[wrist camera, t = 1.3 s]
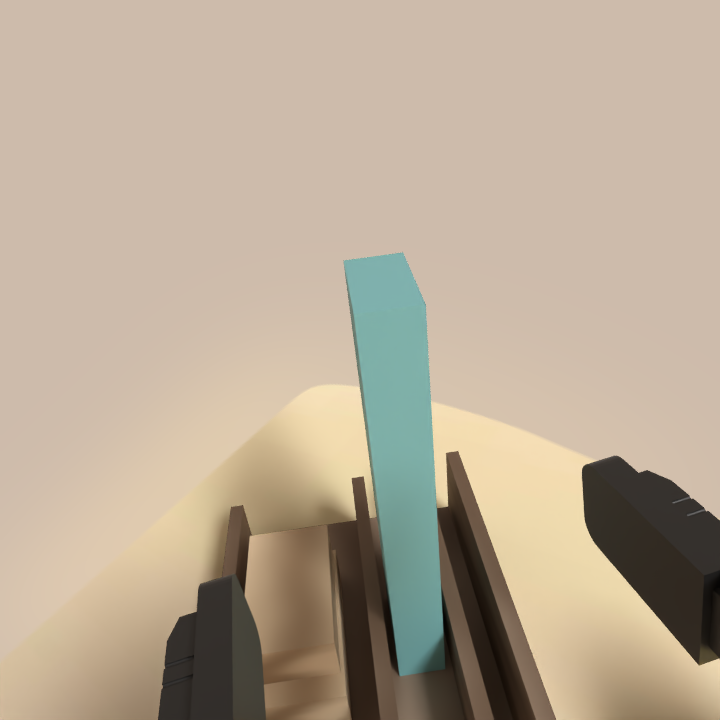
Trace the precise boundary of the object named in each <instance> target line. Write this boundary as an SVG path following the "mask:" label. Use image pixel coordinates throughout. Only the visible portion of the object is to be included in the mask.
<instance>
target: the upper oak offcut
mask: <svg viewBox="0 0 720 720" xmlns="http://www.w3.org/2000/svg"><path fill="white" fill-rule="evenodd" d="M245 598H246V600H247V603H248V605H249V608H250V610H251V613H252V615H253V618H254V621H255V623H256V626H257V630H258V634H259V638H260V643H261V650H262V662H263V678H264V684H271V683H277V682H284V681H290V680H297V679H303V678H310V677H316V676H323V675H329V674H335V673H341V670H340V655H339V640H338V625H337V611H336V596H335V581H334V566H333V552H332V547H331V542H330V537H329V532H328V527H327V525H320V526H313V527H306V528H300V529H293V530H286V531H279V532H273V533H266V534H259V535H252V536H250V540H249V551H248V563H247V574H246V586H245Z"/></svg>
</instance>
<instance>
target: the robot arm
mask: <svg viewBox="0 0 720 720" xmlns="http://www.w3.org/2000/svg"><path fill="white" fill-rule="evenodd" d="M582 482H583V500H584V517H585V522H586V526H587V529H588V531H589V534H590V536H591V538H592V539H593V541H594V543H595V544H596V545H597V546H598V548H599V549H600V550H601V551H602V552H603V554H604V555H605V556H606V557H607V558H608V559H609V561H610V562H611V563H612V564H613V565H614V566H615V568H616V569H617V570H618V571H619V572H620V573H621V575H622V576H623V577H624V578H625V579H626V580H627V582H628V583H629V584H630V585H631V586H632V587H633V589H634V590H635V591H636V592H637V593H638V594H639V596H640V597H641V598H642V599H643V600H644V602H645V603H646V604H647V605H648V606H649V607H650V609H651V610H652V611H653V612H654V613H655V614H656V616H657V617H658V618H659V619H660V620H661V621H662V623H663V624H664V625H665V626H666V627H667V628H668V630H669V631H670V632H671V633H672V634H673V635H674V637H675V638H676V639H677V640H678V641H679V642H680V644H681V645H682V646H683V647H684V648H685V649H686V651H687V652H688V653H689V654H690V655H691V657H692V658H693V659H694V660H695V661H696V662H697V664H698V665H702V664H705V663H707V662H710V661H713V660H716V659H719V658H720V520H718V519H717V518H716V517H715V516H714V515H712V514H711V513H710V512H709V511H707V512H706V511H705V509H704V507H702V506H701V505H700V504H699V503H698V502H697V501H695V500H694V499H691V498H690V496H689V495H688V494H687V493H686V492H684V491H683V490H682V489H681V488H680V487H678V486H677V485H676V484H675V483H674V482H672V481H671V480H669V479H666V478H664V477H662V476H659V475H657V474H655V473H652V472H650V471H648V470H646V471H643V472H640V473H638V472H637V471H636V470H635V469H633V468H632V467H631V466H630V465H629V464H628V463H627V462H625V461H624V460H623V459H622V458H621V457H619V456H612V457H609V458H606V459H603V460H599V461H596V462H593V463H590V464H587V465H584V467H583V469H582ZM162 685H163V689H162V691H161V699H160V708H159V716H158V720H266V711H265V694H264V678H263V662H262V650H261V643H260V638H259V634H258V630H257V626H256V623H255V621H254V618H253V615H252V613H251V610H250V608H249V605H248V603H247V600H246V598H245V595H244V593H243V590H242V588H241V585H240V583H239V580H238V578H237V576H236V575H235V574H231V575H227V576H224V577H221V578H218V579H215V580H211V581H208V582H205V583H202V584H200V585H199V589H198V603H197V612H195V613H191V614H188V615H185V616H182V617H179V619H178V621H177V623H176V625H175V627H174V629H173V631H172V633H171V635H170V637H169V639H168V640H167V647H166V656H165V669H164V673H163V682H162Z"/></svg>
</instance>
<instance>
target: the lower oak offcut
mask: <svg viewBox="0 0 720 720" xmlns="http://www.w3.org/2000/svg"><path fill="white" fill-rule="evenodd" d="M332 552H333V566H334V581H335V596H336V611H337V625H338V640H339V655H340V670H341V673H335V674H329V675H323V676H316V677H310V678H303V679H297V680H290V681H284V682H277V683H271V684H264V694H265V711H266V720H352V714H351V701H350V688H349V676H348V663H347V650H346V638H345V625H344V612H343V600H342V587H341V575H340V570H339V565H338V560H337V554H336V550H332Z"/></svg>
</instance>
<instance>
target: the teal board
mask: <svg viewBox="0 0 720 720" xmlns="http://www.w3.org/2000/svg"><path fill="white" fill-rule="evenodd" d="M344 268H345V276H346V283H347V291H348V298H349V306H350V314H351V321H352V329H353V337H354V345H355V352H356V360H357V367H358V375H359V383H360V391H361V398H362V406H363V414H364V421H365V429H366V437H367V444H368V452H369V460H370V468H371V475H372V483H373V491H374V498H375V506H376V514H377V521H378V529H379V537H380V544H381V552H382V560H383V567H384V575H385V583H386V590H387V598H388V604H389V611H390V617H391V624H392V630H393V636H394V643H395V649H396V656H397V662H398V669H399V675H400V676H405V675H411V674H417V673H424V672H430V671H437V670H443V669H445V653H444V634H443V616H442V597H441V579H440V560H439V542H438V524H437V505H436V487H435V468H434V450H433V432H432V413H431V395H430V376H429V358H428V340H427V321H426V304H425V302H424V300H423V297H422V295H421V293H420V291H419V288H418V286H417V284H416V281H415V280H414V277H413V274H412V272H411V270H410V268H409V265H408V263H407V261H406V259H405V256H404V254H403V253H396V254H389V255H382V256H375V257H367V258H360V259H352V260H345V261H344Z"/></svg>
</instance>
